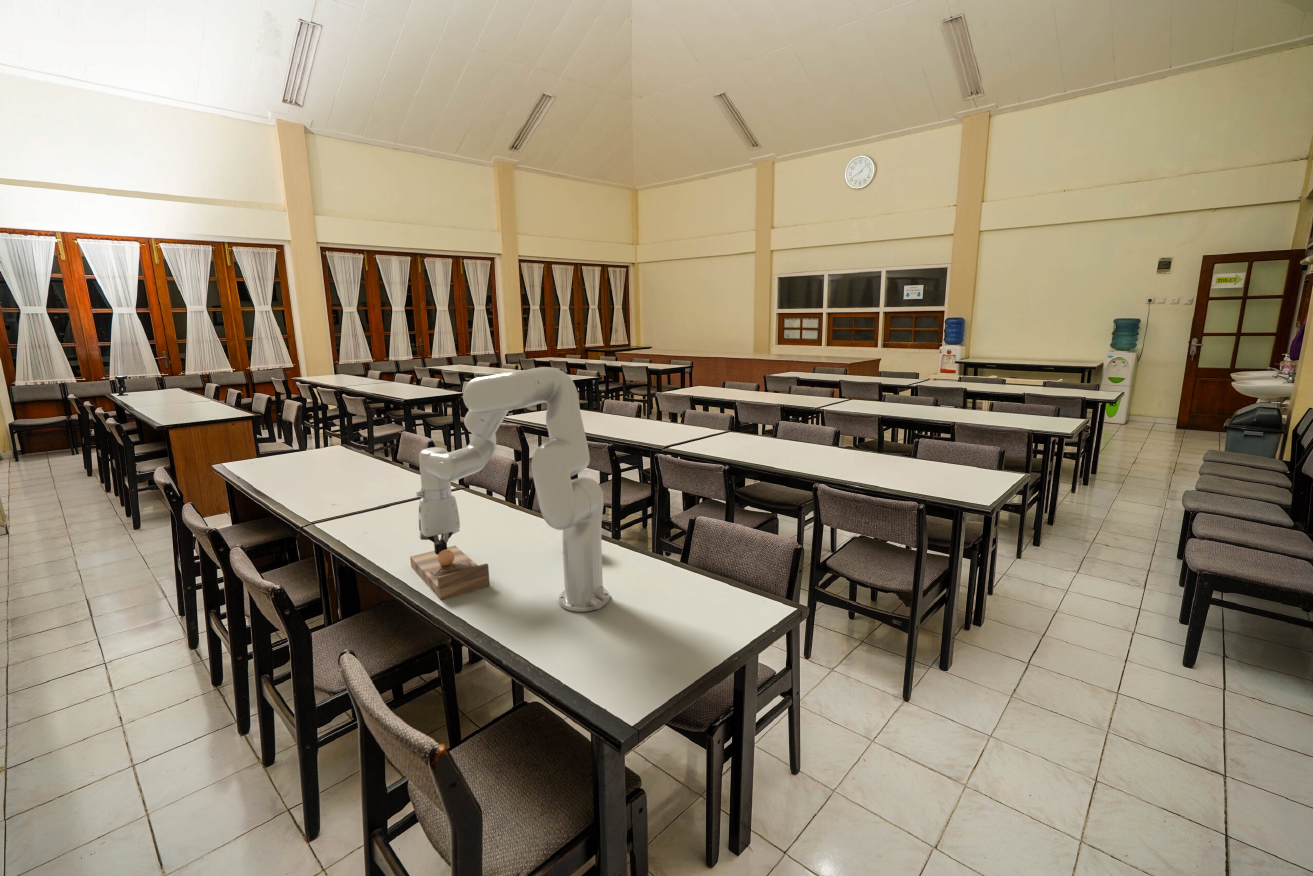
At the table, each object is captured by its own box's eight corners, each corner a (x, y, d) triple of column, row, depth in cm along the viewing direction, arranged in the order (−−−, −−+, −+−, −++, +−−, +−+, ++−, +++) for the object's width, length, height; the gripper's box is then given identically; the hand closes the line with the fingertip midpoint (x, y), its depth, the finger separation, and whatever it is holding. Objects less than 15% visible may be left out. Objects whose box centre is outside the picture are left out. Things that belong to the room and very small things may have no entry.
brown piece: (489, 585, 159) (488, 564, 158) (440, 600, 151) (438, 578, 150) (456, 555, 179) (454, 536, 178) (411, 566, 171) (409, 546, 170)
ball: (453, 561, 167) (457, 564, 164) (437, 566, 165) (441, 569, 161) (450, 546, 167) (454, 548, 163) (434, 551, 165) (438, 553, 161)
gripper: (412, 501, 156) (417, 566, 160) (468, 491, 165) (472, 553, 169) (404, 494, 162) (409, 557, 166) (459, 484, 170) (462, 544, 175)
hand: (441, 555), depth 167 cm, fingers closed
